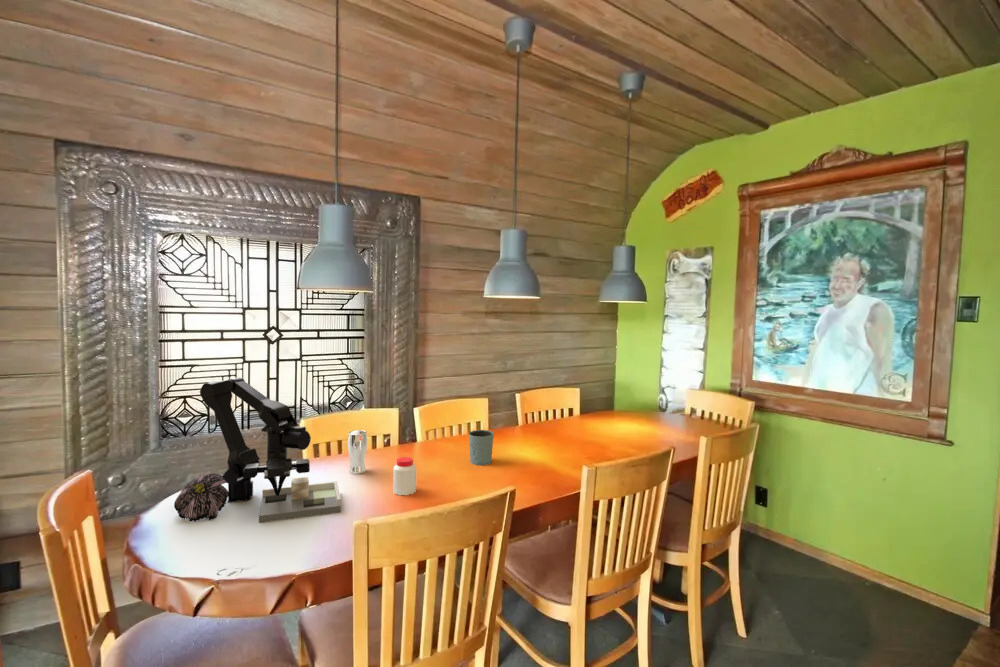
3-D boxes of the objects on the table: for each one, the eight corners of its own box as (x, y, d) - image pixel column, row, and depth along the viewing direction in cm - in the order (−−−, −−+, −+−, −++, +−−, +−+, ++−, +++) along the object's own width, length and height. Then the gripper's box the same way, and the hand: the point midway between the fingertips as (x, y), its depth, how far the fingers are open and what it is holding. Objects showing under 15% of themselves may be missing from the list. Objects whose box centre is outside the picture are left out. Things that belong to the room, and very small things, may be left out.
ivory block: (291, 499, 154) (291, 484, 153) (291, 493, 158) (291, 478, 158) (308, 497, 156) (308, 482, 155) (308, 491, 160) (308, 476, 160)
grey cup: (494, 458, 205) (495, 430, 204) (491, 466, 195) (492, 437, 194) (470, 457, 206) (470, 429, 205) (466, 465, 196) (466, 435, 195)
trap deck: (258, 522, 142) (258, 509, 142) (262, 501, 157) (262, 489, 157) (340, 512, 150) (340, 499, 150) (337, 492, 165) (337, 481, 165)
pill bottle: (413, 485, 173) (414, 455, 172) (418, 494, 166) (418, 461, 165) (391, 488, 170) (391, 457, 170) (394, 496, 163) (395, 464, 162)
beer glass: (347, 475, 182) (347, 435, 181) (348, 468, 189) (348, 430, 188) (366, 473, 184) (367, 434, 183) (366, 467, 191) (367, 429, 190)
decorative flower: (159, 491, 139) (198, 460, 153) (159, 522, 143) (197, 489, 157) (206, 507, 138) (241, 475, 152) (205, 538, 142) (239, 504, 156)
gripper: (240, 456, 143) (241, 509, 144) (309, 450, 150) (309, 501, 150) (244, 446, 153) (245, 495, 154) (309, 440, 160) (309, 488, 161)
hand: (277, 495), depth 154 cm, fingers closed
